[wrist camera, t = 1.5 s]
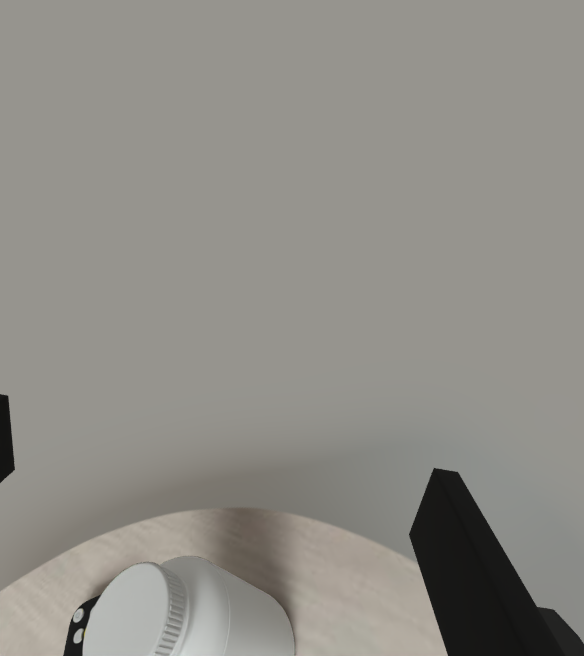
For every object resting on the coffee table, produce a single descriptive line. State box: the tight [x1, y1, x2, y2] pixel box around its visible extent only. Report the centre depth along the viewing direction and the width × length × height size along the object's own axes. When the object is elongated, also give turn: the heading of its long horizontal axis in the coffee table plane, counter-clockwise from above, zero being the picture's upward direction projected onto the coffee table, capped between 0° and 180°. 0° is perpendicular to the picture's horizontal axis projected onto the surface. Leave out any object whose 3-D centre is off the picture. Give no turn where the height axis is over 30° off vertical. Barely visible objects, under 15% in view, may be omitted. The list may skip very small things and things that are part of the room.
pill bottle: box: [83, 556, 295, 656], centre depth 23 cm, size 8×8×15 cm
